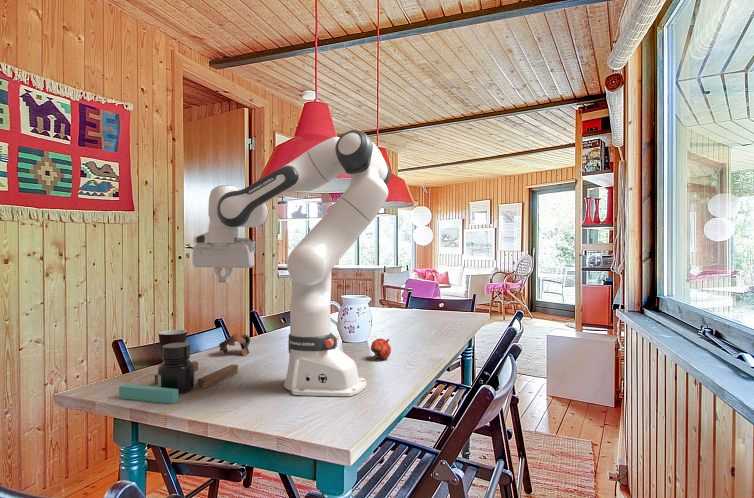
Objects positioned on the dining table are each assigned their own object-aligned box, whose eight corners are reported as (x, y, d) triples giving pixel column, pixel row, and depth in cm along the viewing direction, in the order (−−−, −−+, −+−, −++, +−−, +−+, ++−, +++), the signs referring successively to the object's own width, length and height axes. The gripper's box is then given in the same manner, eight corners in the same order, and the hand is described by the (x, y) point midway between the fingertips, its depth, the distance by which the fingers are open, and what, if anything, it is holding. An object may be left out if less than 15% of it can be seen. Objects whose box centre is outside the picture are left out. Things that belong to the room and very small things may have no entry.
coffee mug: (176, 366, 144) (176, 335, 144) (152, 364, 146) (152, 334, 146) (197, 357, 155) (197, 328, 155) (175, 356, 157) (175, 327, 157)
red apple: (380, 369, 149) (401, 348, 152) (366, 352, 148) (388, 332, 151) (372, 366, 156) (392, 346, 159) (359, 350, 155) (379, 330, 158)
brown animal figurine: (240, 360, 154) (227, 339, 154) (223, 368, 159) (210, 349, 158) (261, 344, 165) (249, 325, 165) (244, 353, 169) (232, 334, 169)
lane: (237, 373, 136) (237, 364, 136) (204, 389, 121) (204, 379, 121) (192, 369, 141) (192, 361, 141) (154, 384, 125) (154, 375, 125)
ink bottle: (172, 383, 126) (172, 340, 126) (201, 385, 124) (201, 342, 124) (149, 395, 116) (149, 348, 116) (180, 397, 115) (180, 349, 115)
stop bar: (178, 401, 111) (178, 389, 111) (172, 404, 109) (172, 391, 109) (125, 395, 116) (125, 383, 116) (119, 398, 114) (119, 386, 114)
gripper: (258, 238, 141) (258, 282, 141) (202, 238, 147) (202, 280, 147) (247, 237, 135) (247, 283, 135) (189, 237, 141) (189, 282, 141)
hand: (223, 282), depth 141 cm, fingers closed
